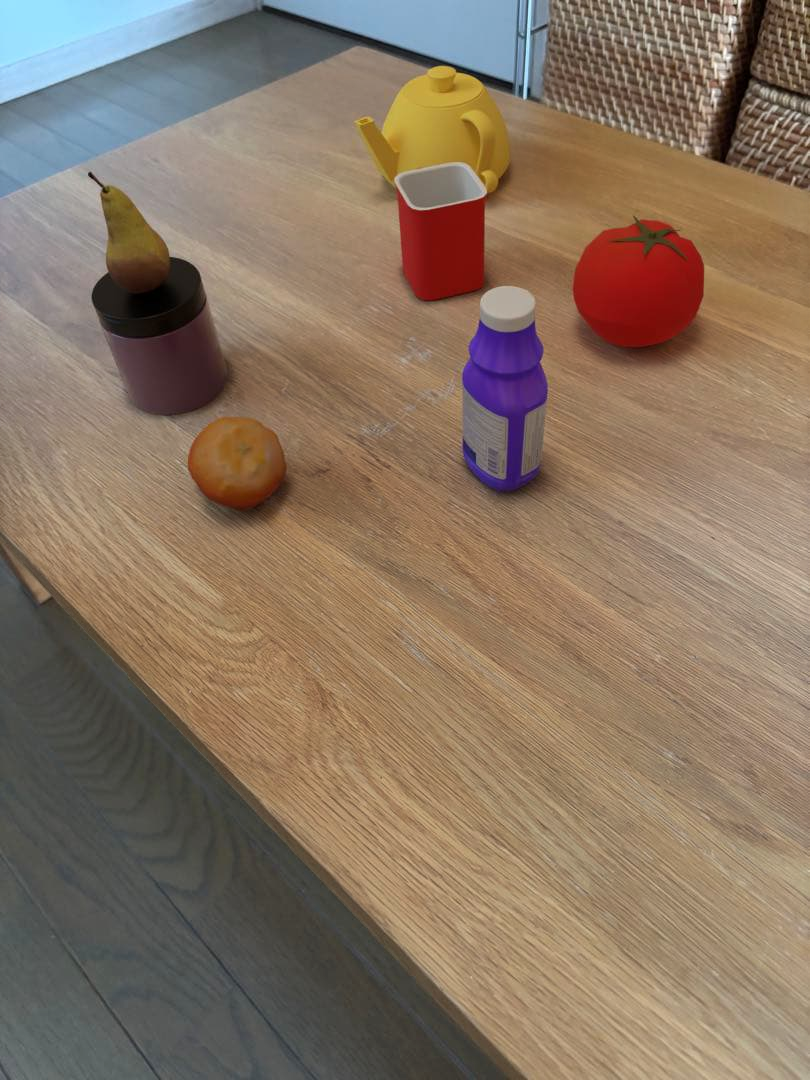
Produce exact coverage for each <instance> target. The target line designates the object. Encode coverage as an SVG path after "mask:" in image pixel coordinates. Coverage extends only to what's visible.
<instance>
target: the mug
mask: <svg viewBox="0 0 810 1080" xmlns="http://www.w3.org/2000/svg"><path fill="white" fill-rule="evenodd" d="M394 183H395V186H396V188H395V189H396V192H397V195H396V196H397V207H398V219H399V220H398V221H399V235H400V236H399V237H400V249H401V263H402V272H403V274H404V276H405V279H406V280H407V282H408V284H409V286H410V288H411V289H412V292H413V294H414V295H415V296H416V297H417V298H418V299H419V300H422V301H426V302H427V301H435V300H436V301H437V300H440V299H444V298H448V297H453V296H457V295H462V294H466V293H470V292H471V293H472V292H475V291H477V290H479V289H481V288H482V287H483V286H484V285H485V236H486V235H485V234H486V233H485V231H486V229H485V228H486V227H485V224H486V223H485V222H486V221H485V220H486V219H485V217H486V199H487V195H488V193H487V189H486V187H485V186H484V184H483V183H482V182H481V180H480V179H479V178H478V176H477V175H476V173H475V172H474V171H473V169H472V168H471V167H470V166H469V165H468V164H466V163H462V162H450V163H445V164H441V165H436V166H431V167H426V168H422V167H421V168H417V169H416V170H411V171H406V172H403V173H400V174H398V175H397V176H396V177H395V178H394Z"/></svg>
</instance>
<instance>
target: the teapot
mask: <svg viewBox="0 0 810 1080" xmlns="http://www.w3.org/2000/svg"><path fill="white" fill-rule="evenodd" d="M354 125H355V127H356V129H357V131H358V133H359V135H360V137H361V139H362V141H363V143H364V145H365V147H366V149H367V151H368V153H369V155H370V157H371V159H372V161H373V163H374V165H375V167H376V169H377V171H379V173H381V174H382V176H383V178H385V180H386V181H387V182H388V183H389V184H390V185H391V186H392V187H393V188H394V189H396V186H395V183H394V178H395V177H396V176H397V175H398V174H400V173H403V172H406V171H411V170H416V169H417V168H421V167H422V168H426V167H431V166H436V165H441V164H445V163H450V162H462V163H466V164H468V165H469V166H470V167H471V168H472V169H473V171H474V172H475V173H476V175H477V176H478V178H479V179H480V180H481V182H482V183H483V184H484V186H485V187H486V189H487V194H489V193H492V192H494V191H495V190H496V189H497V188H498V186H499V179H501V177H502V176H503V175H504V174H505V172H506V171H507V168H508V166H509V164H510V161H511V143H510V137H509V132H508V129H507V126H506V123H505V119H504V118H503V115H502V114H501V112H500V109H499V108H498V105H497V104H496V102H495V100H494V99H493V97H492V96H491V93H489V91H488V90H487V88H486V87H485V85H484V84H483V83H482V82H481V81H480V80H479V79H478V78H476V77H474V76H472V75H470V74H467V73H464V72H463V73H461V72H457V70H456V68H454V67H452V66H449V65H438V66H437V65H436V66H434V67H432V68H430V69H428V70H427V72H426V74H422V75H420V76H419V75H418V76H417V77H415V78H412V79H410V80H409V81H408V82H406V83H405V84H404V85H403V87H402V88H401V89H400V91H399V92H398V94H397V96H396V97H395V99H394V101H393V103H392V104H391V107H390V109H389V111H388V113H387V114H386V117H385V120H384V122H383V125H382V129H381V131H380V130H379V129H380V128H378V126H377V125H376V123H375V120H374V119H373V118H372V117H370V116H369V115H368V116H365V117H362V118H358V119H356V120H354Z"/></svg>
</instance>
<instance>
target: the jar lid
mask: <svg viewBox="0 0 810 1080" xmlns="http://www.w3.org/2000/svg"><path fill="white" fill-rule="evenodd" d="M169 257H170V268H169V273H168V276H167V278H166V280H165V281H164V283H163V284H162V285H160V286H159V287H157V288H156V289H154V290H152V291H149V292H145V293H139V294H135V293H131V292H128V291H126V290H124V289H123V288H121V287H120V286H119V285H118V284H117V283H116V282H115V281H114V280H113V279H112V278H111V276H110V274H109V272H108V271H107V272H106V273H105V274H104V275H103V276H101V277H100V279H99V280H98V281H97V282H96V283H95V284H94V286H93V288H92V291H91V297H90V298H91V302H92V305H93V308H94V310H95V313H96V315H97V318H98V321H99V320H100V322H101V324H102V325H103V326H104V327H105V328H106V329H108V330H109V331H111V332H113V333H116V334H119V335H123V336H131V337H144V336H152V335H158V334H161V333H165V332H168V331H171V330H173V329H176V328H178V327H180V326H182V325H184V324H185V323H187V322H188V321H190V320H191V319H192V318H194V317H195V316H196V315H197V314H198V313H199V311H200V310H201V309H202V307H203V305H204V302H205V293H206V290H205V287H204V283H203V280H202V276H201V273H200V271H199V269H198V268H197V267H196V266H195V265H194V264H193V263H191V262H190V261H187V260H186V259H183V258H181V257H180V258H179V257H175V256H169ZM100 322H99V323H100ZM101 324H100V325H101Z"/></svg>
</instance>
